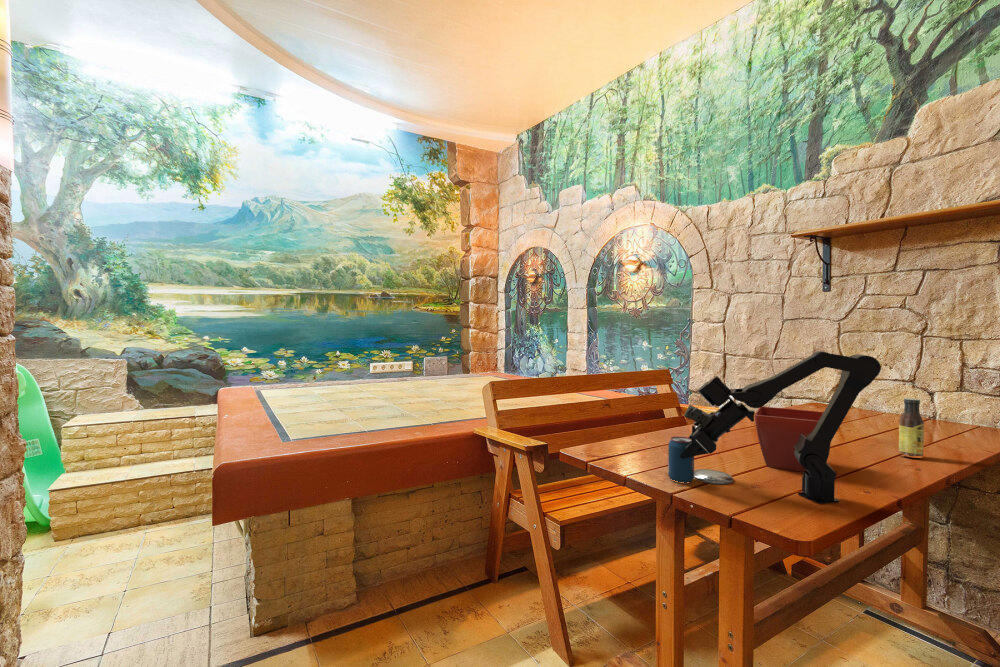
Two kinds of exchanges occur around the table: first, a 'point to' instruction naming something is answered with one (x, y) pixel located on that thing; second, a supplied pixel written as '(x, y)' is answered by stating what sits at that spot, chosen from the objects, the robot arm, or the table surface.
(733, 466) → the table surface
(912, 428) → the sauce bottle
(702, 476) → the silver metal disc
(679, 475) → the soda can
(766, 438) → the plant pot
